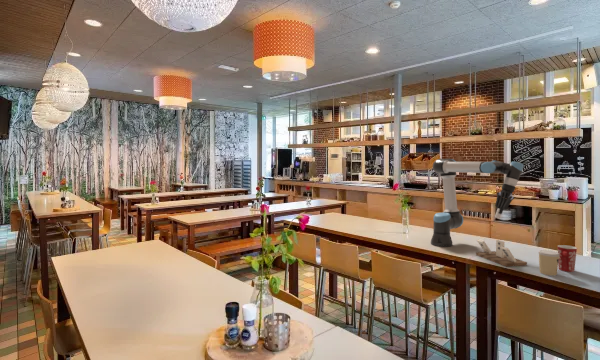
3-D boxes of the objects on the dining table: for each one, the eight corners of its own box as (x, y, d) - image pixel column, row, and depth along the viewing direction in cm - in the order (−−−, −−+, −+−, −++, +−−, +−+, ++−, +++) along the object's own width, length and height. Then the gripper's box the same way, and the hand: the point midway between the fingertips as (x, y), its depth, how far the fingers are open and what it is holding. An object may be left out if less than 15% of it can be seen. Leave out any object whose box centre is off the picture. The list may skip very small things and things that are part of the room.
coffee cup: (562, 276, 186) (563, 255, 185) (542, 275, 187) (543, 254, 187) (553, 271, 195) (553, 250, 194) (534, 270, 197) (535, 249, 196)
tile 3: (507, 260, 210) (499, 248, 208) (510, 258, 210) (501, 246, 208) (514, 262, 205) (506, 250, 203) (516, 260, 205) (508, 248, 203)
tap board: (476, 255, 229) (476, 252, 229) (494, 253, 231) (494, 251, 231) (506, 266, 203) (506, 263, 203) (526, 265, 206) (526, 262, 206)
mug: (558, 266, 203) (559, 244, 203) (577, 270, 196) (578, 247, 196) (552, 271, 195) (553, 247, 194) (572, 275, 188) (573, 250, 187)
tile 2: (495, 255, 219) (495, 240, 219) (497, 255, 220) (498, 240, 219) (501, 257, 214) (501, 242, 214) (504, 257, 215) (504, 241, 214)
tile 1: (484, 251, 229) (476, 240, 227) (486, 250, 229) (478, 239, 228) (489, 253, 224) (481, 242, 223) (491, 252, 224) (483, 240, 223)
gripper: (522, 188, 222) (508, 222, 225) (506, 184, 235) (494, 216, 238) (512, 185, 220) (499, 219, 223) (497, 181, 233) (485, 213, 236)
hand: (496, 217), depth 230 cm, fingers closed
